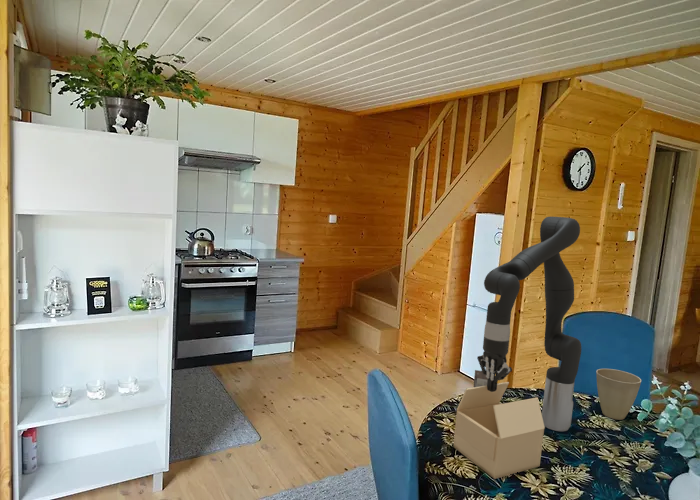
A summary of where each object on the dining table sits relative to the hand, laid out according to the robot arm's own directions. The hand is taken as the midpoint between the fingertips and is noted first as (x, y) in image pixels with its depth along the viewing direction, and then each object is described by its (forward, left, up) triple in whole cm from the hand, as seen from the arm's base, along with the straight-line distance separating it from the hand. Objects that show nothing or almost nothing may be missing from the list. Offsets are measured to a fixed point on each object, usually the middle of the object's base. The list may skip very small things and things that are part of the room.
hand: (491, 390), depth 145 cm
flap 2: (0, +11, -3) cm, 12 cm away
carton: (0, +4, -19) cm, 20 cm away
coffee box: (-14, -18, -20) cm, 30 cm away
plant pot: (-66, -2, -20) cm, 69 cm away
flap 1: (0, -3, -3) cm, 4 cm away
